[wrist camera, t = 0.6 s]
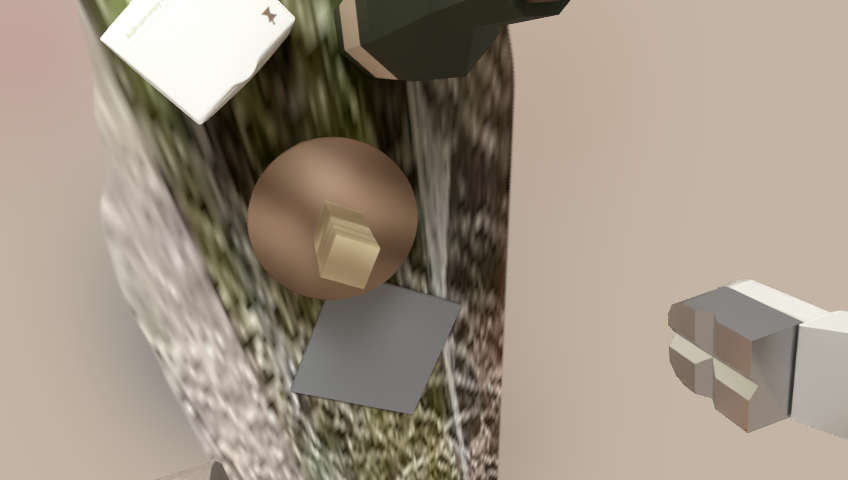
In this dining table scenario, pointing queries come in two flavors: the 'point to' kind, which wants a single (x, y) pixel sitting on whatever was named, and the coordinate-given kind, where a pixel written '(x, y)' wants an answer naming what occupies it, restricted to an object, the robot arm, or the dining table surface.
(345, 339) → the mat
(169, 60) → the skincare box
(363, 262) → the lid
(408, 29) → the wine bottle
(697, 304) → the robot arm
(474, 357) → the dining table surface
